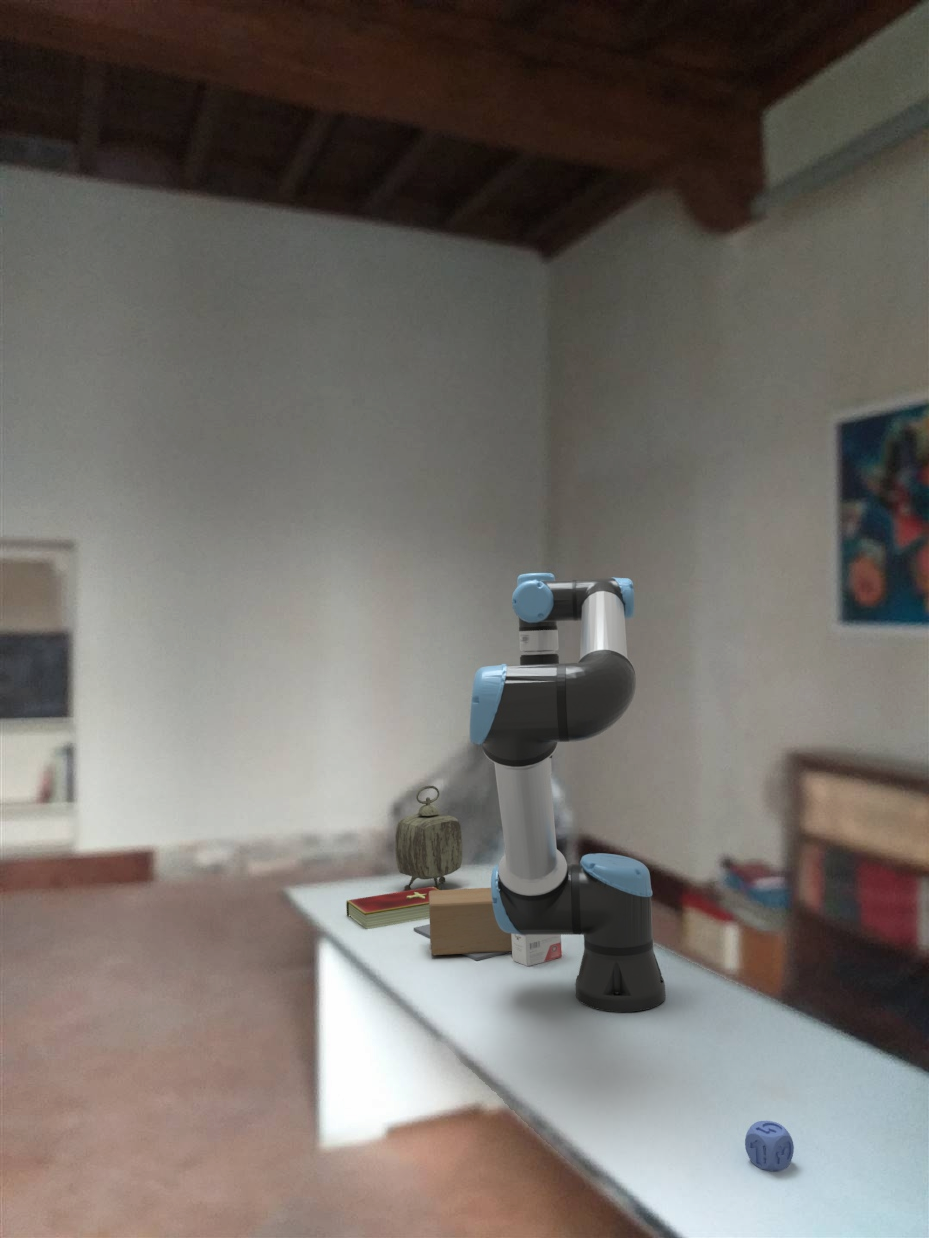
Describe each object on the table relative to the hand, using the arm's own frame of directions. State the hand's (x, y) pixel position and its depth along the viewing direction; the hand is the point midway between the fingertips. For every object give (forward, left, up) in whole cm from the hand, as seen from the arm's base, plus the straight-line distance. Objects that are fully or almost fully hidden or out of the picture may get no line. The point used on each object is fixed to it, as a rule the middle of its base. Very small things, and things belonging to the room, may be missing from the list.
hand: (543, 774), depth 197 cm
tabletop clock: (+54, -5, -34) cm, 64 cm away
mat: (+17, +5, -34) cm, 38 cm away
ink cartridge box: (-2, +4, -34) cm, 35 cm away
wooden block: (+15, +18, -29) cm, 37 cm away
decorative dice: (-75, +26, -35) cm, 87 cm away
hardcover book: (+40, +11, -35) cm, 54 cm away
